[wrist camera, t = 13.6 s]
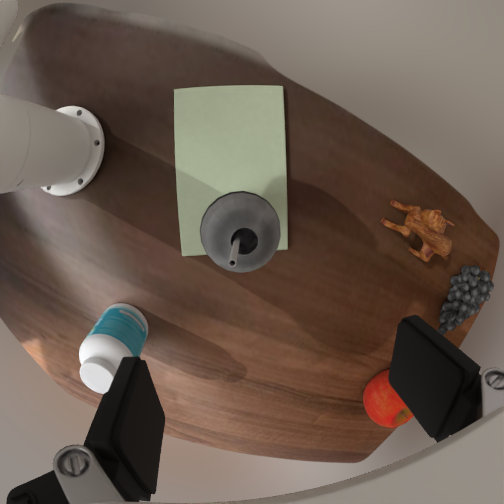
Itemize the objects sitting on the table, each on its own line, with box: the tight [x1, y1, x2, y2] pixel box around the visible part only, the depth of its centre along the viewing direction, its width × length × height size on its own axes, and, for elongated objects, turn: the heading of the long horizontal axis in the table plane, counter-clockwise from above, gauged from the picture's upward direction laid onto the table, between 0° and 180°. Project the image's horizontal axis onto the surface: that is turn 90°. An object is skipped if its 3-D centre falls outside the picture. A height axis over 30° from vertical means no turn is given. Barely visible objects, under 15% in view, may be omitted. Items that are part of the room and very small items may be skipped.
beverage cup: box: [200, 191, 281, 273], centre depth 28 cm, size 7×7×20 cm
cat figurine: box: [381, 199, 455, 262], centre depth 35 cm, size 18×7×14 cm, turn 61°
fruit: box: [438, 265, 494, 335], centre depth 42 cm, size 9×8×15 cm
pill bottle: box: [79, 303, 148, 394], centre depth 34 cm, size 8×7×14 cm
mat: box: [174, 85, 288, 256], centre depth 36 cm, size 14×22×1 cm, turn 2°
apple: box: [363, 369, 414, 428], centre depth 44 cm, size 11×11×11 cm
